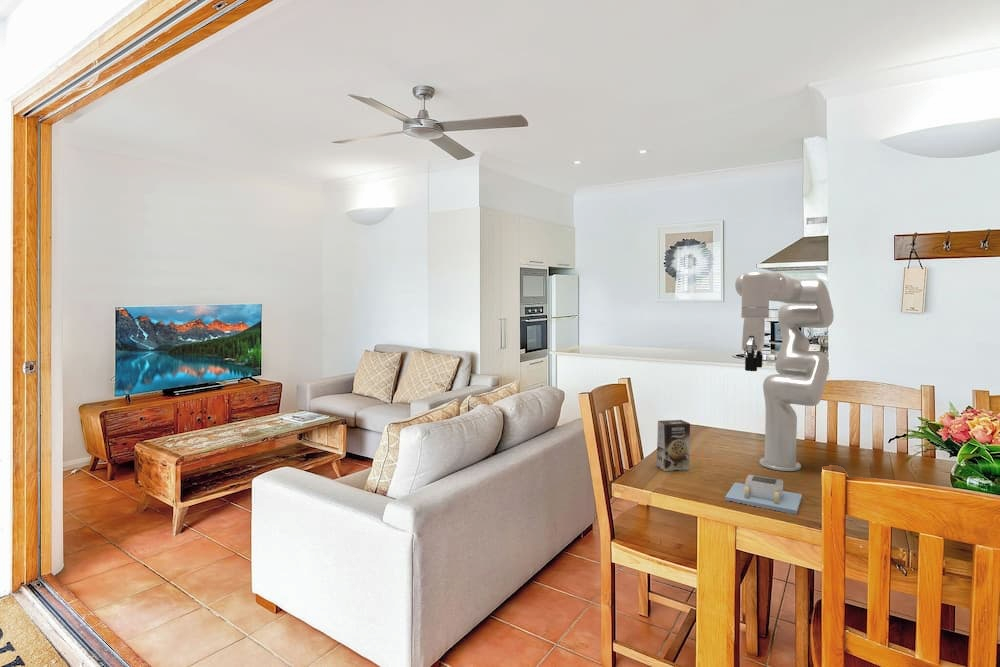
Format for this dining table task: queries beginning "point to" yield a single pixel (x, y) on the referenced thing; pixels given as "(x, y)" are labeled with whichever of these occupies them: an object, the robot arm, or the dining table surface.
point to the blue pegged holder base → (786, 504)
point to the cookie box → (673, 445)
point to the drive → (764, 487)
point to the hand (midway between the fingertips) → (753, 368)
